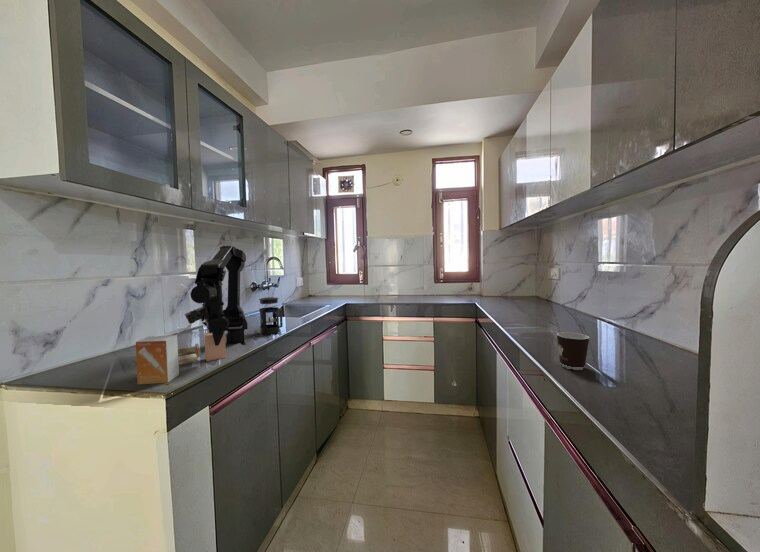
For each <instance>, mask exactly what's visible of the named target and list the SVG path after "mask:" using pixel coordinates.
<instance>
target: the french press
mask: <svg viewBox="0 0 760 552" xmlns="http://www.w3.org/2000/svg"><path fill="white" fill-rule="evenodd" d="M263 287H264V288H266V289H267V292H268V293H267V294H268V297H267V296H266V297H261V298H258V300H259V303H260V305H268V306H267V307H261V308H259V311H258V312H259V314H260V315H259V317H260V318H259V319H260V326H259V335H260V334H261V335H260V336H271V335H270V334H274V335H276V334H275V333H278V332H280V333H281V330H280V329H281V328H283V309H282V308H279V307H277V306H271V307H270V305H271V304H272V305H273V304H274V305H275V304H278V302H279V299H280V298H279V297H274V296H270V288H272V287H274V286H273V285H265V286H263ZM271 313H272V318H271ZM267 314H268V318H267ZM271 323H272V324H271ZM278 334H279V333H278Z"/></svg>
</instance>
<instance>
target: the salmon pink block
mask: <svg viewBox="0 0 760 552" xmlns="http://www.w3.org/2000/svg"><path fill="white" fill-rule="evenodd" d="M225 334H226V332H224V334H223V336H222V339H221V341H220V343H219V345H218V346H215V343H214V339H213V335H212V333H204V335H203V336H204V337H203V338H204V354H205V355H204V357H205V361H206V362H211V361H215V360H221V359H226V357H227V352H226V351H227V350H226V348H227V347H226V340H225Z"/></svg>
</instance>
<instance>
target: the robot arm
mask: <svg viewBox="0 0 760 552" xmlns="http://www.w3.org/2000/svg"><path fill="white" fill-rule="evenodd" d="M246 260H247V256H246V253H245V252H244V251H243V250H241V249H240V248H237V247H235V246H234V245H221V246H220V247H219V250H218V251H217V253H216V254H215V255H213V258H212V259H211V260H207V261H205V262H203V263H202V264H200V266H199V267H198V270H197V273H196V277H195V280H194V284H195V285H196V286H194V287H193V288H192V289H191V290H190V291H191V292H190V298H191V300H192V301H193V302H194V303H196V304H201V307H198V308H196V309H193V310H190V311H189V312H187V313H184V316H185V318H186V320H187V322H188V324H189V325H191V324H193V323H196V322H197V321H199V320H200V322H201V323H202V324H203V326H205V327H206V328H207V330H208V334H210V333H212V335H213V339H214V343H215V346H218V345H219V343H220V341H221V339H222V336H223V334H224V333H225V345H236V344H240V345H246V344H247V343H246V341H245V330H248V328H249V327H248V321H247V319H246V316H245V312H244V311H243V309H242V307H241V306H240V304H241V272H242V270H243V269H244V268H245V265H246V262H247V261H246ZM226 269H227V271H226ZM227 272H228V273H227ZM226 274H228V275H227V277H228V278H227V305H226V307H225V308H224V306H225V302H224V301H223V285H224V284H223V282H224V280H225V277H226ZM223 308H224V309H223Z"/></svg>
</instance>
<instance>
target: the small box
mask: <svg viewBox="0 0 760 552" xmlns="http://www.w3.org/2000/svg"><path fill="white" fill-rule="evenodd" d="M178 345H179V344H178V335H176V334H175V335H154V336H146V337H144V338H141V339H139V340H137V341H135V355H136V375H137V377H136V378H137V385H147V384H148V385H150V384H151V385H152V384H164V383H165V386H169V385H170V383H169V382H171V381H172V380H173V379H175V378H177V377H178V376H180V365H179V363H178V357H179V355H178V349H179V346H178ZM167 383H168V384H167Z"/></svg>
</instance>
